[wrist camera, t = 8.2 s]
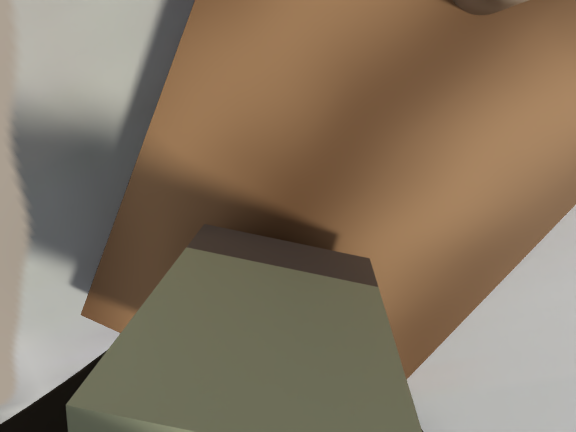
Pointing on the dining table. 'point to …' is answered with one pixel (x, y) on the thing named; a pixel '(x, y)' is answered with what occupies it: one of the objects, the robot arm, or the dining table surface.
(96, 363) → the robot arm
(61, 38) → the dining table surface
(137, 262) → the pin board
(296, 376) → the sleeve
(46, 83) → the dining table surface
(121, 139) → the dining table surface
